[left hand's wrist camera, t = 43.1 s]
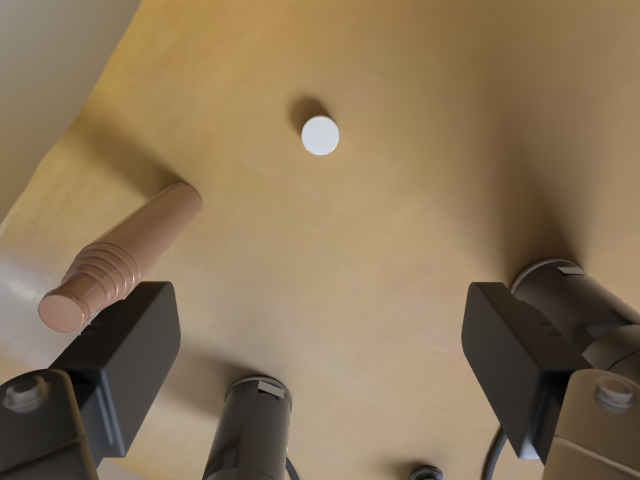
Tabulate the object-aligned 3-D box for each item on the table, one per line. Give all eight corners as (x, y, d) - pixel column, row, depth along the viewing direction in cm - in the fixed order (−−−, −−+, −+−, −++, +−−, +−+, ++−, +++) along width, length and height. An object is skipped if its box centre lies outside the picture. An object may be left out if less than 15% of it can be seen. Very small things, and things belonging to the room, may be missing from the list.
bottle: (184, 229, 48) (71, 358, 26) (153, 201, 47) (6, 313, 25) (210, 203, 47) (115, 315, 25) (178, 174, 46) (48, 265, 24)
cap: (343, 144, 45) (344, 147, 43) (309, 156, 45) (309, 160, 43) (331, 109, 43) (331, 110, 42) (296, 122, 44) (295, 124, 42)
